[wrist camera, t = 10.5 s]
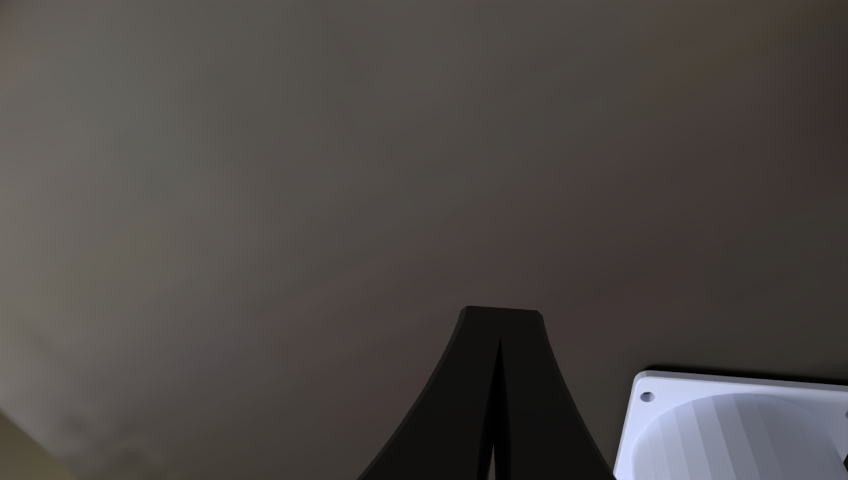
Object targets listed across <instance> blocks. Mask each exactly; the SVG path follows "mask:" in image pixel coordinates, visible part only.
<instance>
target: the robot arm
mask: <svg viewBox="0 0 848 480" xmlns="http://www.w3.org/2000/svg"><path fill="white" fill-rule="evenodd" d="M644 392H651V393H649V394H643V393H644ZM493 445H494V460H495V480H848V472H847V470H846V468H845V466H844V464H843V462H844V460H845V458H846V456H847V454H848V386H842V385H830V384H817V383H804V382H792V381H779V380H766V379H753V378H741V377H728V376H715V375H703V374H690V373H677V372H665V371H652V370H649V371H643V372H640V373H639V374H638V375H636V377H635V379H634V383H633V387H632V392H631V396H630V400H629V405H628V409H627V414H626V418H625V423H624V427H623V432H622V436H621V440H620V445H619V449H618V454H617V458H616V463H615V467H614V472H613V473H612V471H611V469H610V468H609V466H608V464H607V463H606V461H605V459H604V458H603V456H602V454H601V453H600V451H599V449H598V447H597V445H596V444H595V442H594V440H593V438H592V436H591V434H590V433H589V431H588V429H587V427H586V425H585V423H584V421H583V419H582V417H581V415H580V413H579V411H578V410H577V407H576V405H575V403H574V401H573V399H572V397H571V394H570V392H569V390H568V388H567V386H566V384H565V381H564V379H563V377H562V374H561V372H560V370H559V367H558V365H557V362H556V359H555V357H554V354H553V351H552V349H551V346H550V343H549V340H548V336H547V333H546V329H545V325H544V321H543V316H542V315H541V314H540V313H539V312H538V311H537V310H523V309H509V308H494V307H480V306H466V307H465V308H463V309H462V310H461V312H460V315H459V319H458V322H457V324H456V327H455V329H454V332H453V334H452V336H451V339H450V341H449V343H448V345H447V347H446V349H445V351H444V353H443V355H442V357H441V359H440V361H439V363H438V364H437V366H436V368H435V370H434V371H433V373H432V375H431V377H430V378H429V380H428V382H427V384H426V385H425V387H424V389H423V390H422V392H421V394H420V395H419V397H418V398H417V400H416V401H415V403H414V404H413V406H412V407H411V409H410V410H409V412H408V413H407V415H406V416H405V418H404V419H403V421H402V422H401V424H400V425H399V427H398V428H397V429H396V431H395V432H394V434H393V435H392V436H391V438H390V439H389V440H388V442H387V443H386V444H385V446H384V447H383V448H382V449H381V451H380V452H379V453H378V454H377V456H376V457H375V458H374V459H373V461H372V462H371V463H370V464H369V466H368V467H367V468H366V469H365V471H364V472H363V473H362V474H361V475H360V476H359V477H358V479H357V480H488V477H489V471H490V464H491V458H492V451H493Z"/></svg>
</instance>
